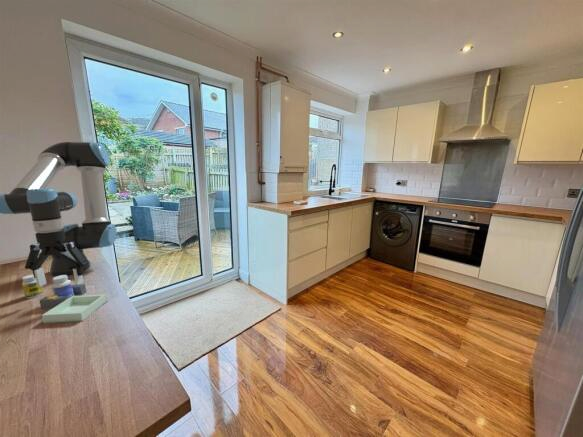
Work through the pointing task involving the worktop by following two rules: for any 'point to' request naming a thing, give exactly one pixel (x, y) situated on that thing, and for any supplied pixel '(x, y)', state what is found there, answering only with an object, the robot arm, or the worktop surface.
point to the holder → (60, 297)
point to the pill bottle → (62, 286)
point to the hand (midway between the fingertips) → (61, 284)
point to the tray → (75, 309)
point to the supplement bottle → (31, 287)
